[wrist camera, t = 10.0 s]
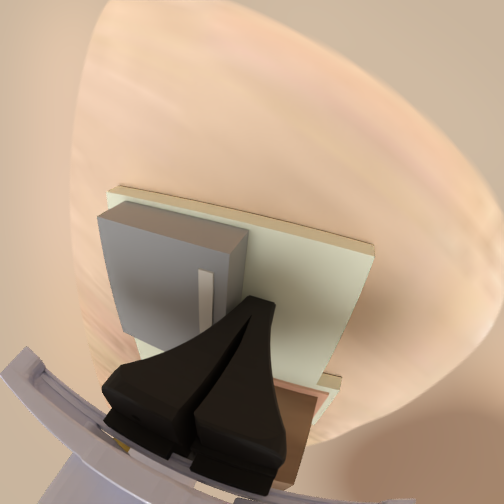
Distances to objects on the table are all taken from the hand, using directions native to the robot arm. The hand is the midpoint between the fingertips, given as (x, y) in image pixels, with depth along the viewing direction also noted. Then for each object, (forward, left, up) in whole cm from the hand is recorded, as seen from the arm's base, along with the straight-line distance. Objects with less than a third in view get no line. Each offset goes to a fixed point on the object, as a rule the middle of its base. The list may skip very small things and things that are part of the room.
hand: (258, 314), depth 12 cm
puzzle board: (-3, +2, -2) cm, 4 cm away
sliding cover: (0, +4, -1) cm, 4 cm away
